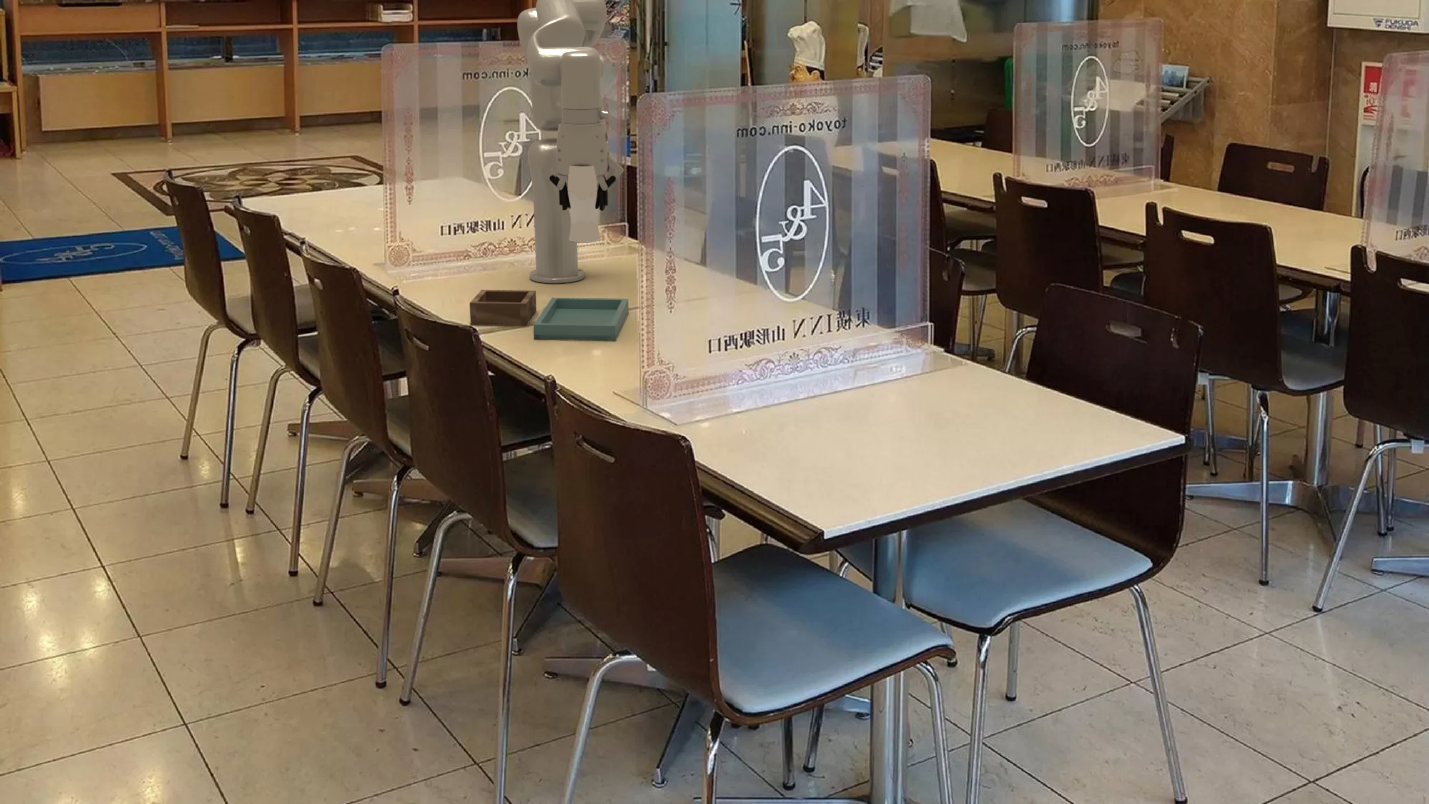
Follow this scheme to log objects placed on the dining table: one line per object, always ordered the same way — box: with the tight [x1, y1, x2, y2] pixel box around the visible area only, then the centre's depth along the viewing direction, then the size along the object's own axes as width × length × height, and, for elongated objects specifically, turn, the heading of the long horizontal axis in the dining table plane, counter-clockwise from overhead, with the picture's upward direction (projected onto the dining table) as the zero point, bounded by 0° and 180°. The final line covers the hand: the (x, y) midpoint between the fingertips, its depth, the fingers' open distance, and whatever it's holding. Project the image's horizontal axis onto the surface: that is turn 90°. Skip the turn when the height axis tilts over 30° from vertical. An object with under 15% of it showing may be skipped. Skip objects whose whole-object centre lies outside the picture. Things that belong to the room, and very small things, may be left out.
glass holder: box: [469, 289, 537, 327], centre depth 306 cm, size 11×11×4 cm
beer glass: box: [565, 165, 601, 244], centre depth 292 cm, size 7×7×15 cm
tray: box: [532, 297, 630, 342], centre depth 300 cm, size 22×16×3 cm
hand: (583, 208), depth 292 cm, fingers closed on beer glass, 6 cm apart
